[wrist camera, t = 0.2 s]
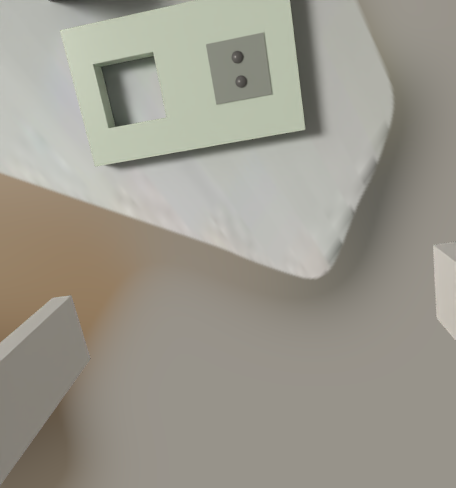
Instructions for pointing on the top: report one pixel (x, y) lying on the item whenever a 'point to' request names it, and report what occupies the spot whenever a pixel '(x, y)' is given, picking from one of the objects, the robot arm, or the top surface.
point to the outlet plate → (191, 76)
